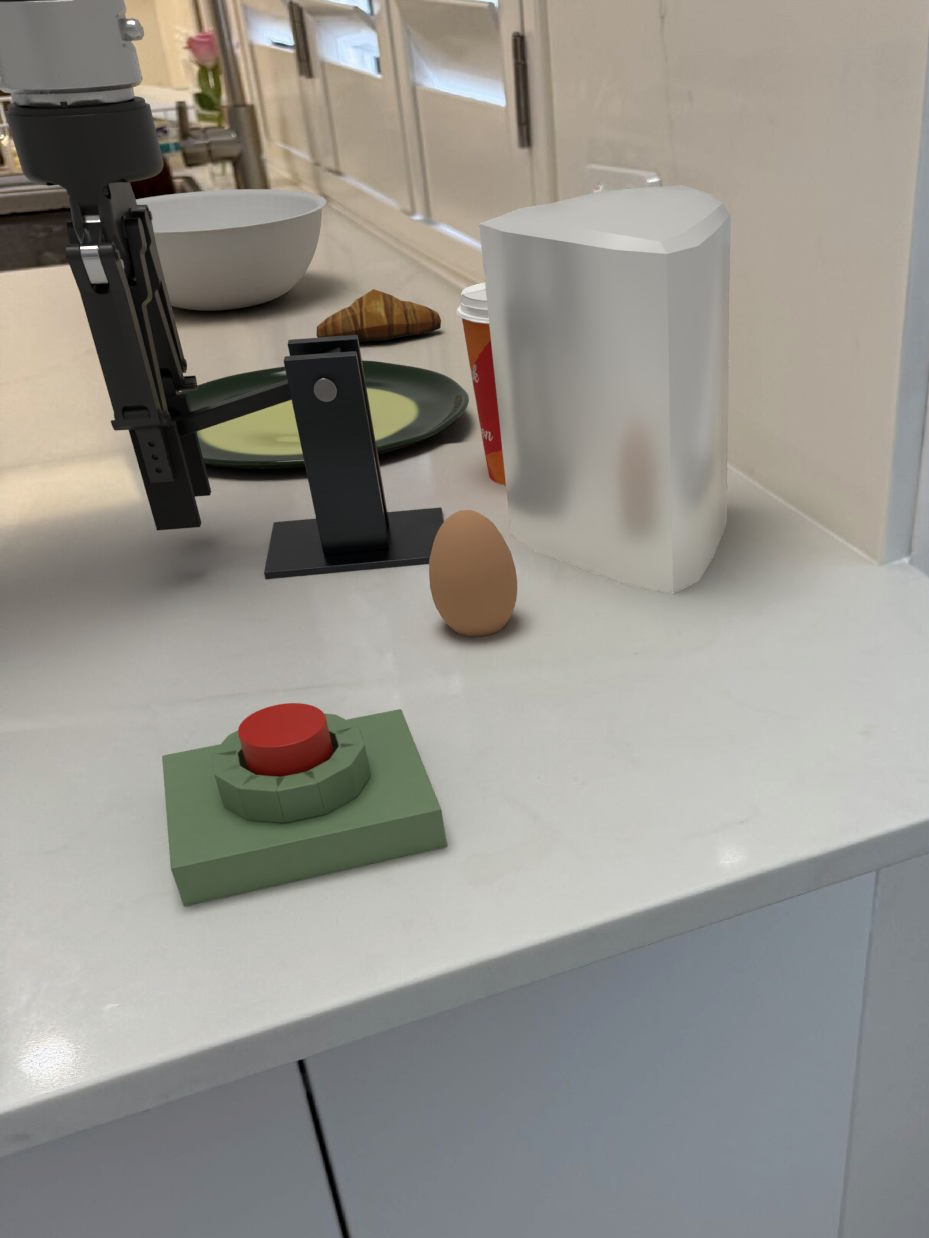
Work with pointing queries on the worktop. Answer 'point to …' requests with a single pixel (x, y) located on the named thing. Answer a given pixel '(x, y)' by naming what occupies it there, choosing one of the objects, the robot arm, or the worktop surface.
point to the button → (285, 739)
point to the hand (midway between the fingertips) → (184, 509)
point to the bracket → (342, 474)
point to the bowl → (234, 244)
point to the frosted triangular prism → (614, 379)
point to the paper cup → (483, 375)
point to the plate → (269, 437)
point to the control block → (298, 811)
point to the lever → (233, 407)
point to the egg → (472, 575)
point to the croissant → (380, 319)
